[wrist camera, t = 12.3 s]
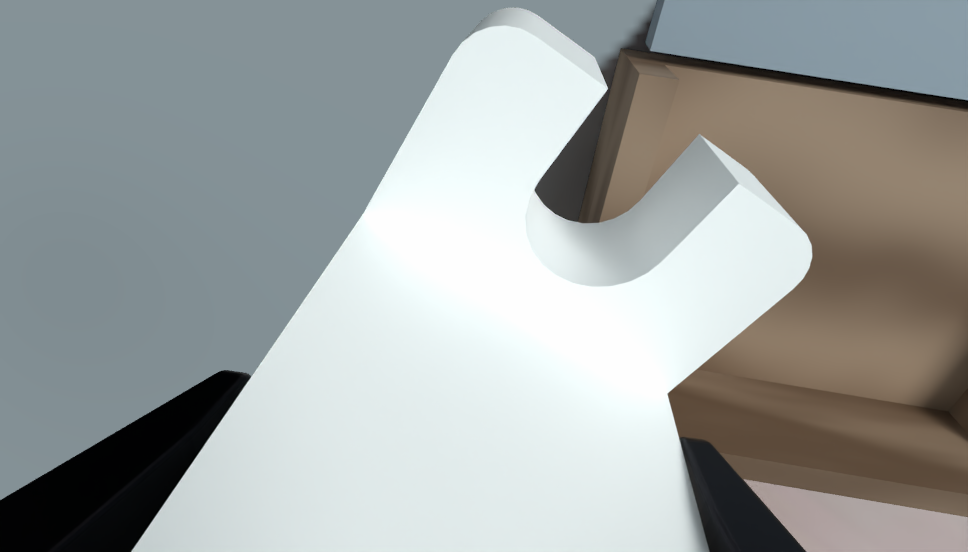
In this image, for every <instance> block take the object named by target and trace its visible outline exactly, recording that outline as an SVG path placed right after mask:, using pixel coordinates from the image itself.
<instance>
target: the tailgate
mask: <svg viewBox="0 0 968 552" xmlns="http://www.w3.org/2000/svg"><path fill="white" fill-rule="evenodd" d="M645 43H646V45H647V47H648V48H649V50H650V51H654V52H660V53H667V54H673V55H680V56H686V57H693V58H699V59H705V60H712V61H718V62H725V63H731V64H738V65H744V66H751V67H757V68H763V69H770V70H776V71H783V72H789V73H796V74H802V75H808V76H815V77H821V78H828V79H834V80H841V81H847V82H853V83H860V84H866V85H873V86H879V87H886V88H892V89H899V90H905V91H911V92H918V93H924V94H931V95H937V96H944V97H950V98H956V99H963V100H968V0H657V3H656V6H655V10H654V13H653V17H652V20H651V24H650V27H649V31H648V35H647V38H646V42H645Z"/></svg>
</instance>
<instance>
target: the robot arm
mask: <svg viewBox="0 0 968 552" xmlns="http://www.w3.org/2000/svg"><path fill="white" fill-rule="evenodd" d="M250 378H251V376H250V375H249V374H247V373H242V372H234V371H228V370H224V371H220V372H218V373H216V374H214V375H212V376H211V377H209V378H207V379H206V380H204V381H202V382H200V383H199V384H197V385H195V386H194V387H192V388H190V389H189V390H187V391H185V392H183V393H182V394H180V395H179V396H177V397H175V398H173V399H172V400H170V401H168V402H166V403H165V404H163V405H161V406H160V407H158V408H156V409H155V410H153V411H151V412H149V413H148V414H146V415H144V416H143V417H141V418H139V419H138V420H136V421H134V422H132V423H131V424H129V425H127V426H126V427H124V428H122V429H121V430H119V431H117V432H115V433H114V434H112V435H110V436H109V437H107V438H105V439H104V440H102V441H100V442H99V443H97V444H95V445H93V446H92V447H90V448H89V449H87V450H85V451H83V452H81V453H80V454H78V455H76V456H75V457H73V458H71V459H70V460H68V461H66V462H64V463H63V464H61V465H59V466H58V467H56V468H54V469H53V470H51V471H49V472H47V473H46V474H44V475H42V476H41V477H39V478H37V479H36V480H34V481H32V482H30V483H29V484H27V485H25V486H24V487H22V488H20V489H19V490H17V491H15V492H13V493H12V494H10V495H8V496H7V497H5V498H3V499H2V500H0V552H131V551H132V550H133V549H134V547H135V546H136V544H137V543H138V541H139V540H140V538H141V537H142V535H143V534H144V533H145V531H146V530H147V528H148V527H149V525H150V524H151V522H152V521H153V519H154V518H155V516H156V515H157V514H158V512H159V511H160V509H161V508H162V506H163V505H164V503H165V502H166V500H167V499H168V498H169V496H170V495H171V493H172V492H173V490H174V489H175V487H176V486H177V484H178V483H179V482H180V480H181V479H182V477H183V476H184V474H185V473H186V471H187V470H188V468H189V467H190V465H191V464H192V463H193V461H194V460H195V458H196V457H197V455H198V454H199V452H200V451H201V449H202V448H203V447H204V445H205V444H206V442H207V441H208V439H209V438H210V436H211V435H212V433H213V432H214V431H215V429H216V428H217V426H218V425H219V423H220V422H221V420H222V419H223V417H224V416H225V414H226V413H227V412H228V410H229V409H230V407H231V406H232V404H233V403H234V401H235V400H236V398H237V397H238V396H239V394H240V393H241V391H242V390H243V388H244V387H245V385H246V384H247V382H248V381H249V380H250ZM679 440H680V443H681V447H682V451H683V454H684V458H685V462H686V466H687V469H688V473H689V477H690V481H691V484H692V488H693V492H694V496H695V499H696V503H697V507H698V511H699V514H700V518H701V522H702V526H703V529H704V533H705V537H706V541H707V544H708V548H709V552H806V551H805V550H804V549H803V547H802V546H801V545H800V544H799V543H798V542H797V541H796V539H795V538H794V537H793V536H792V535H791V534H790V533H789V531H788V530H787V529H786V528H785V527H784V526H783V525H782V523H781V522H780V521H779V520H778V519H777V518H776V517H775V515H774V514H773V513H772V512H771V511H770V510H769V509H768V507H767V506H766V505H765V504H764V503H763V502H762V501H761V499H760V498H759V497H758V496H757V495H756V494H755V493H754V491H753V490H752V489H751V488H750V487H749V486H748V485H747V484H746V482H745V481H744V480H743V479H742V478H741V477H740V476H739V474H738V473H737V472H736V471H735V470H734V469H733V468H732V466H731V465H730V464H729V463H728V462H727V461H726V460H725V458H724V457H723V456H722V455H721V454H720V453H719V452H718V450H717V449H716V448H715V447H714V446H713V445H712V444H711V443H710V442H708V441H707V440H704V439H697V438H690V437H680V438H679Z"/></svg>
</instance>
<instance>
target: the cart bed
mask: <svg viewBox="0 0 968 552" xmlns="http://www.w3.org/2000/svg"><path fill="white" fill-rule="evenodd" d="M699 134H700V135H701V136H703V137H704V138H705V139H707V140H708V141H710V142H711V143H712V144H714V145H715V146H716V147H718V148H719V149H720V150H722V151H723V152H725V153H726V154H727V155H729V156H730V157H731V158H733V159H734V160H735V161H737V162H738V163H739V164H741V165H742V166H744V167H745V168H746V169H748V170H749V171H750V172H751V173H752V174H753V175H754V176H755V178H756V179H757V180H758V181H759V182H760V183H761V184H762V185H763V187H764V188H765V189H766V190H767V191H768V192H769V193H770V194H771V195H772V197H773V198H774V199H775V200H776V201H777V202H778V203H779V204H780V205H781V207H782V208H783V209H784V210H785V211H786V212H787V213H788V214H789V215H790V217H791V218H792V219H793V220H794V221H795V222H796V223H797V224H798V226H799V227H800V228H801V229H802V230H803V231H804V232H805V233H806V234H807V236H808V239H809V241H810V243H811V245H812V260H811V263H810V267H809V269H808V271H807V273H806V275H805V276H804V278H803V279H802V280H801V282H800V283H799V284H798V285H797V286H796V287H795V288H794V289H793V290H791V291H790V292H789V293H788V294H787V295H785V296H784V297H783V298H782V299H781V300H779V301H778V302H777V303H776V304H775V305H773V306H772V307H771V308H770V309H769V310H767V311H766V312H765V313H764V314H762V315H761V316H760V317H759V318H758V319H756V320H755V321H754V322H753V323H752V324H750V325H749V326H748V327H747V328H746V329H744V330H743V331H742V332H741V333H740V334H738V335H737V336H736V337H735V338H734V339H732V340H731V341H730V342H729V343H728V344H726V345H725V346H724V347H723V348H722V349H720V350H719V351H718V352H717V353H715V354H714V355H713V356H712V357H711V358H709V359H708V360H707V361H706V362H705V363H703V364H702V365H701V366H700V367H699V368H697V369H696V370H695V371H694V372H693V373H691V374H690V375H689V376H688V377H687V378H685V379H684V380H683V381H682V382H681V383H679V384H678V385H677V386H676V387H675V388H673V389H672V390H671V391H670V392H668V393H667V395H668V398H669V402H670V406H671V410H672V413H673V417H674V421H675V425H676V428H677V432H678V436H679V438H680V437H690V438H697V439H704V440H707V441H708V442H710V443H711V444H712V445H713V446H714V447H715V448H716V449H717V450H718V452H719V453H720V454H721V455H722V456H723V457H724V458H725V460H726V461H727V462H728V463H729V464H730V465H731V466H732V468H733V469H734V470H735V471H736V472H737V473H738V474H739V476H740V477H741V478H742V479H747V480H753V481H758V482H764V483H770V484H776V485H782V486H788V487H794V488H800V489H806V490H811V491H817V492H823V493H829V494H835V495H841V496H847V497H853V498H859V499H864V500H870V501H876V502H882V503H888V504H894V505H900V506H906V507H912V508H917V509H923V510H929V511H935V512H941V513H947V514H953V515H959V516H965V517H968V102H963V101H957V100H950V99H944V98H938V97H931V96H925V95H918V94H912V93H905V92H899V91H892V90H886V89H880V88H873V87H867V86H860V85H854V84H847V83H841V82H835V81H828V80H822V79H815V78H809V77H802V76H796V75H790V74H783V73H777V72H770V71H764V70H757V69H751V68H745V67H738V66H732V65H725V64H719V63H712V62H706V61H700V60H693V59H687V58H680V57H674V56H667V55H661V54H654V53H648V52H642V51H635V50H629V49H622V48H621V49H620V54H619V58H618V62H617V66H616V70H615V74H614V78H613V82H612V86H611V90H610V94H609V98H608V102H607V106H606V110H605V114H604V118H603V122H602V126H601V130H600V134H599V138H598V142H597V146H596V150H595V154H594V159H593V163H592V167H591V171H590V175H589V179H588V183H587V187H586V191H585V195H584V199H583V203H582V207H581V211H580V215H579V219H578V222H579V223H600V222H604V221H607V220H611V219H614V218H616V217H618V216H620V215H622V214H624V213H625V212H627V211H629V210H630V209H631V208H632V207H633V206H634V205H636V204H637V203H638V202H639V201H640V200H641V199H642V198H643V197H644V196H645V194H646V193H647V192H648V191H649V190H650V189H651V188H652V187H653V185H654V184H655V183H656V182H657V181H658V180H659V179H660V178H661V176H662V175H663V174H664V173H665V172H666V171H667V170H668V169H669V167H670V166H671V165H672V164H673V163H674V162H675V161H676V160H677V158H678V157H679V156H680V155H681V154H682V153H683V152H684V151H685V149H686V148H687V147H688V146H689V145H690V144H691V143H692V142H693V141H694V139H695V138H696V137H697V136H698V135H699Z"/></svg>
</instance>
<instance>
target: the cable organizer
mask: <svg viewBox="0 0 968 552" xmlns="http://www.w3.org/2000/svg"><path fill="white" fill-rule="evenodd" d="M607 90H608V87H607V85H606V82H605V80H604V78H603V75H602V73H601V71H600V68H599V66H598V64H597V61H596V59H595V57H594V56H592V55H591V54H590V53H588V52H587V51H586V50H584V49H583V48H581V47H580V46H579V45H577V44H576V43H575V42H573V41H572V40H571V39H569V38H568V37H566V36H565V35H564V34H562V33H561V32H560V31H558V30H557V29H556V28H554V27H553V26H552V25H550V24H549V23H547V22H546V21H545V20H543V19H542V18H541V17H539V16H538V15H536V14H534V13H532V12H530V11H528V10H525V9H520V8H516V7H514V8H503V9H500V10H498V11H495V12H493V13H491V14H489V15H488V16H487V17H485V18H484V19H483V20H482V21H481V22H480V23H479V24H478V25H477V26H476V27H475V28H474V30H473V31H472V32H471V33H470V34H469V35H468V36H467V37H466V39H465V40H464V41H463V42H462V43H461V45H460V46H459V47H458V49H457V50H456V51H455V53H454V54H453V55H452V57H451V59H450V61H449V62H448V64H447V66H446V68H445V69H444V72H443V73H442V75H441V77H440V78H439V80H438V82H437V84H436V85H435V87H434V89H433V91H432V93H431V94H430V96H429V98H428V100H427V101H426V103H425V105H424V107H423V109H422V110H421V112H420V114H419V116H418V117H417V119H416V121H415V123H414V124H413V126H412V128H411V130H410V132H409V133H408V135H407V137H406V139H405V140H404V142H403V144H402V146H401V148H400V149H399V151H398V153H397V155H396V156H395V158H394V160H393V162H392V164H391V166H390V167H389V169H388V171H387V173H386V175H385V176H384V178H383V180H382V181H381V183H380V185H379V187H378V188H377V190H376V192H375V194H374V196H373V197H372V199H371V201H370V203H369V204H368V206H367V208H366V210H365V212H364V213H363V215H362V217H361V218H360V220H359V221H358V222H357V224H356V225H355V227H354V228H353V229H352V231H351V233H350V234H349V235H348V237H347V238H346V240H345V241H344V243H343V244H342V245H341V247H340V249H339V250H338V251H337V253H336V254H335V256H334V257H333V259H332V260H331V262H330V263H329V265H328V266H327V267H326V269H325V270H324V272H323V273H322V275H321V276H320V278H319V279H318V280H317V282H316V283H315V285H314V286H313V288H312V289H311V291H310V292H309V294H308V295H307V296H306V298H305V300H304V301H303V303H302V304H301V305H300V307H299V308H298V310H297V311H296V313H295V314H294V315H293V317H292V318H291V320H290V321H289V323H288V324H287V326H286V327H285V329H284V330H283V332H282V333H281V334H280V336H279V337H278V339H277V340H276V342H275V343H274V345H273V346H272V348H271V349H270V351H269V352H268V353H267V355H266V356H265V358H264V360H263V361H262V362H261V364H260V365H259V366H258V368H257V369H256V371H255V372H254V374H253V375H252V377H251V378H250V380H249V381H248V382H247V384H246V385H245V387H244V388H243V390H242V391H241V393H240V394H239V396H238V397H237V398H236V400H235V401H234V403H233V404H232V406H231V407H230V409H229V410H228V412H227V413H226V414H225V416H224V417H223V419H222V420H221V422H220V423H219V425H218V426H217V428H216V429H215V431H214V432H213V433H212V435H211V436H210V438H209V439H208V441H207V442H206V444H205V445H204V447H203V448H202V449H201V451H200V452H199V454H198V455H197V457H196V458H195V460H194V461H193V463H192V464H191V465H190V467H189V468H188V470H187V471H186V473H185V474H184V476H183V477H182V479H181V480H180V482H179V483H178V484H177V486H176V487H175V489H174V490H173V492H172V493H171V495H170V496H169V498H168V499H167V500H166V502H165V503H164V505H163V506H162V508H161V509H160V511H159V512H158V514H157V515H156V516H155V518H154V519H153V521H152V522H151V524H150V525H149V527H148V528H147V530H146V531H145V533H144V534H143V535H142V537H141V538H140V540H139V541H138V543H137V544H136V546H135V547H134V549H133V550H132V551H131V552H709V548H708V544H707V541H706V537H705V533H704V529H703V526H702V522H701V518H700V514H699V511H698V507H697V503H696V499H695V496H694V492H693V488H692V484H691V481H690V477H689V473H688V469H687V466H686V462H685V458H684V454H683V451H682V447H681V443H680V440H679V436H678V432H677V428H676V425H675V421H674V417H673V413H672V410H671V406H670V402H669V398H668V395H667V393H668V392H670V391H671V390H672V389H673V388H675V387H676V386H677V385H678V384H679V383H681V382H682V381H683V380H684V379H685V378H687V377H688V376H689V375H690V374H691V373H693V372H694V371H695V370H696V369H697V368H699V367H700V366H701V365H702V364H703V363H705V362H706V361H707V360H708V359H709V358H711V357H712V356H713V355H714V354H715V353H717V352H718V351H719V350H720V349H722V348H723V347H724V346H725V345H726V344H728V343H729V342H730V341H731V340H732V339H734V338H735V337H736V336H737V335H738V334H740V333H741V332H742V331H743V330H744V329H746V328H747V327H748V326H749V325H750V324H752V323H753V322H754V321H755V320H756V319H758V318H759V317H760V316H761V315H762V314H764V313H765V312H766V311H767V310H769V309H770V308H771V307H772V306H773V305H775V304H776V303H777V302H778V301H779V300H781V299H782V298H783V297H784V296H785V295H787V294H788V293H789V292H790V291H791V290H793V289H794V288H795V287H796V286H797V285H798V284H799V283H800V282H801V280H802V279H803V278H804V276H805V275H806V273H807V271H808V269H809V267H810V263H811V260H812V245H811V243H810V241H809V239H808V236H807V234H806V233H805V232H804V231H803V230H802V229H801V228H800V227H799V226H798V224H797V223H796V222H795V221H794V220H793V219H792V218H791V217H790V215H789V214H788V213H787V212H786V211H785V210H784V209H783V208H782V207H781V205H780V204H779V203H778V202H777V201H776V200H775V199H774V198H773V197H772V195H771V194H770V193H769V192H768V191H767V190H766V189H765V188H764V187H763V185H762V184H761V183H760V182H759V181H758V180H757V179H756V178H755V176H754V175H753V174H752V173H751V172H750V171H749V170H748V169H746V168H745V167H744V166H742V165H741V164H739V163H738V162H737V161H735V160H734V159H733V158H731V157H730V156H729V155H727V154H726V153H725V152H723V151H722V150H720V149H719V148H718V147H716V146H715V145H714V144H712V143H711V142H710V141H708V140H707V139H705V138H704V137H703V136H701V135H700V134H699V135H698V136H697V137H696V138H695V139H694V141H693V142H692V143H691V144H690V145H689V146H688V147H687V148H686V149H685V151H684V152H683V153H682V154H681V155H680V156H679V157H678V158H677V160H676V161H675V162H674V163H673V164H672V165H671V166H670V167H669V169H668V170H667V171H666V172H665V173H664V174H663V175H662V176H661V178H660V179H659V180H658V181H657V182H656V183H655V184H654V185H653V187H652V188H651V189H650V190H649V191H648V192H647V193H646V194H645V196H644V197H643V198H642V199H641V200H640V201H639V202H638V203H637V204H636V205H634V206H633V207H632V208H631V209H630V210H629V211H627V212H625V213H624V214H622V215H620V216H618V217H616V218H614V219H611V220H607V221H604V222H600V223H579V222H574V221H569V220H566V219H564V218H562V217H560V216H558V215H556V214H554V213H553V212H552V211H551V210H550V209H548V208H547V207H546V206H545V205H544V204H543V203H542V201H541V200H540V199H539V197H538V196H537V194H536V193H535V190H534V189H535V187H536V186H537V184H538V182H539V180H540V179H541V178H542V176H543V175H544V174H545V172H546V171H547V170H548V168H549V167H550V166H551V164H552V163H553V162H554V160H555V159H556V158H557V156H558V155H559V154H560V152H561V151H562V150H563V148H564V147H565V146H566V144H567V143H568V142H569V140H570V139H571V138H572V136H573V135H574V134H575V132H576V131H577V130H578V128H579V127H580V126H581V124H582V123H583V122H584V120H585V119H586V118H587V116H588V115H589V114H590V112H591V111H592V110H593V108H594V107H595V106H596V104H597V103H598V102H599V100H600V99H601V98H602V96H603V95H604V94H605V92H606V91H607Z"/></svg>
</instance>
